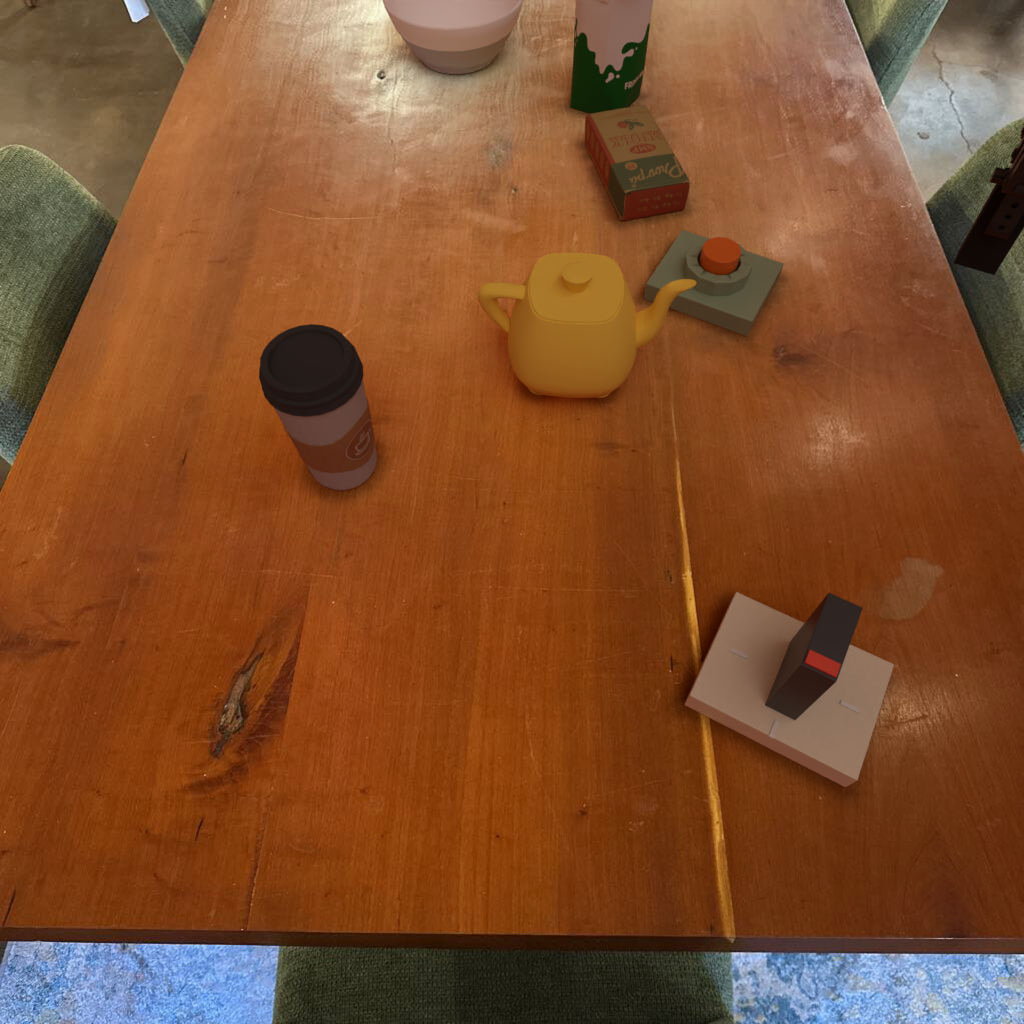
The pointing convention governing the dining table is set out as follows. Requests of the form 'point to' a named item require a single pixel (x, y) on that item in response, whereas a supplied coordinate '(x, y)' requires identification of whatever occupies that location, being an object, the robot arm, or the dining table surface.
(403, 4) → the bowl
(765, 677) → the panel
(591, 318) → the teapot
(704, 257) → the button
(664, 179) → the carton
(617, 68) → the milk carton
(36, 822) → the dining table surface
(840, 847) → the dining table surface
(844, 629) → the dark grey rectangular block
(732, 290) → the housing
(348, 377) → the coffee cup
